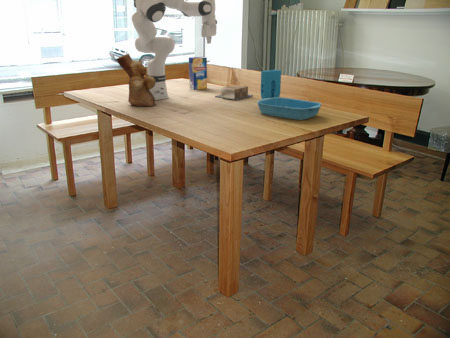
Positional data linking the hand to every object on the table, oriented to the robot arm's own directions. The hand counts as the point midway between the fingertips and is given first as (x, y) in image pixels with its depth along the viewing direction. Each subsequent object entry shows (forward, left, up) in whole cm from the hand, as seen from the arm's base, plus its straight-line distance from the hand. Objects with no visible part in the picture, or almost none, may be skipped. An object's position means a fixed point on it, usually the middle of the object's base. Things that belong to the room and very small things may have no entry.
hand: (208, 43), depth 298 cm
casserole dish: (-25, -75, -34) cm, 86 cm away
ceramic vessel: (-56, +11, -33) cm, 66 cm away
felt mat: (+1, -20, -33) cm, 39 cm away
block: (-6, -52, -33) cm, 62 cm away
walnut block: (-9, -22, -30) cm, 38 cm away
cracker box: (+12, +20, -33) cm, 41 cm away
